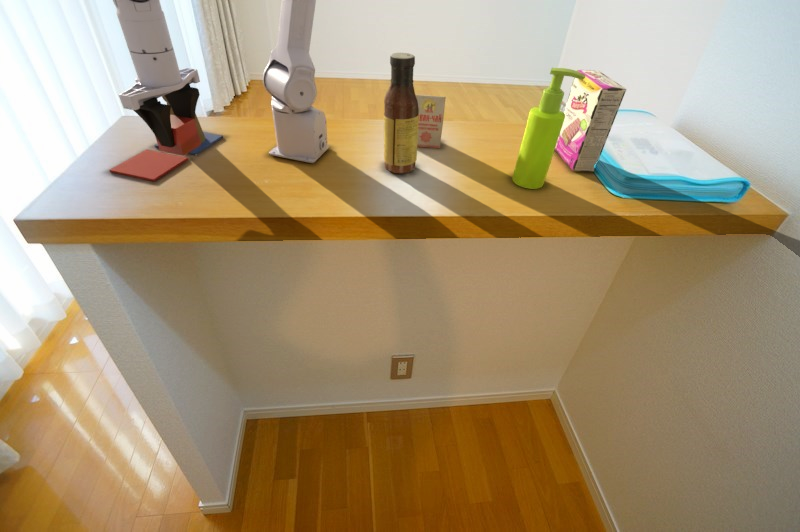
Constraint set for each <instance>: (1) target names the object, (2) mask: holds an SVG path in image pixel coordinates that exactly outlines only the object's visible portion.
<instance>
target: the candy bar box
mask: <svg viewBox="0 0 800 532" xmlns="http://www.w3.org/2000/svg"><path fill="white" fill-rule="evenodd" d="M576 71H578V72H580V73H582V74H584V75H585V78H584V79H583V80H580V79H578V78H575V77H573V81H572V85H571V87H570V91H569V93H568V98H567V101H566V104H565V108H564V111H563V113H564V114H565V119H564V122H563V125H562V128H561V132H560V135H559V138H558V141H557V144H556V147H555V150H554V152H556V154H558V156H559V157H560V158H561V159H562V160H563V161H564V163H565V164H566V165H567V167H569V168H570V170H571V171H572V172H576V173H583V172H584V173H585V172H589V173H590V172H591V173H592V172H595V171H596V168H594V165H595V164H596V162H597V161H598V159H599V160H600V158H601V155H602V153H603V150H604V148H605V145H606V142H607V140H608V138H609V134H610V132H611V129H612V128H613V125H614V122H615V119H616V117H617V115H618V112H619V110H620V107H621V104H622V101H623V99H624V97H625V94H626V92H627V88H626V87H624V86H623V85H621V84H619V83H618V82H617V81H615V80H613V78H610V77H609V76H607V75H606V74H604V73H603V72H602V71H600V70H595V69H594V70H592V69H577V70H576ZM598 162H599V161H598Z"/></svg>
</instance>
